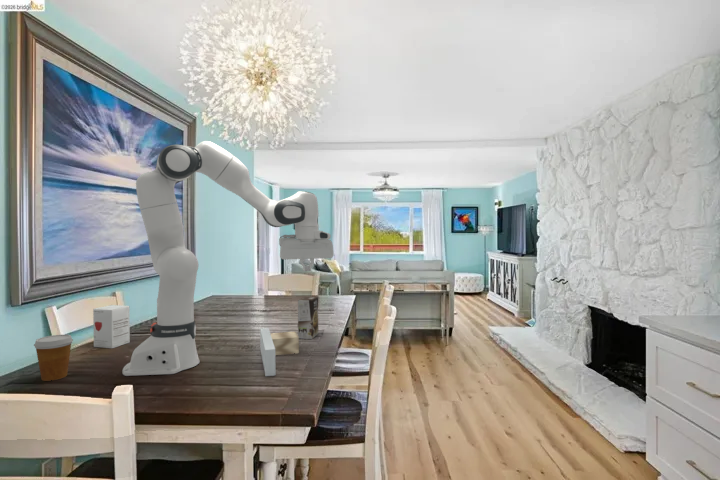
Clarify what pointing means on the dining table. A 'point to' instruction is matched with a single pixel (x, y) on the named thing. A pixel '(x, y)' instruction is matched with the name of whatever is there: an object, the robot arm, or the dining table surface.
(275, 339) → the maple block
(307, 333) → the coffee box
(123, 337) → the supplement box
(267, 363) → the board
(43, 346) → the disposable coffee cup
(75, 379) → the dining table surface
